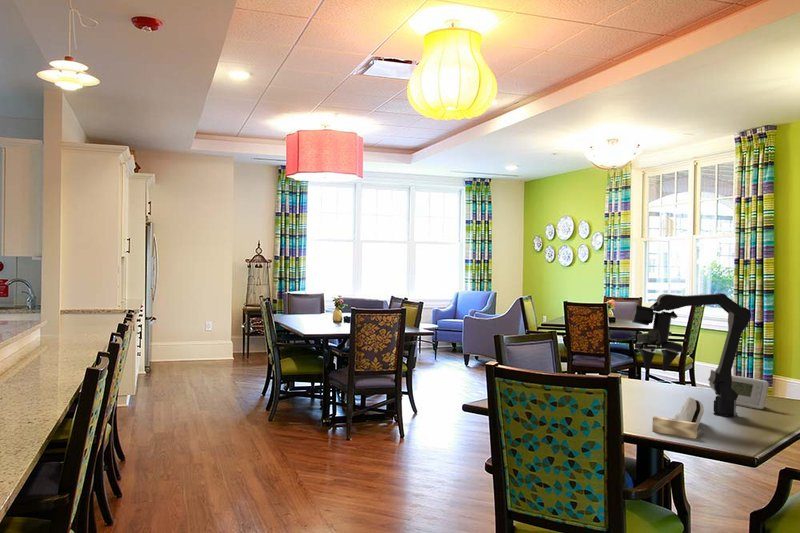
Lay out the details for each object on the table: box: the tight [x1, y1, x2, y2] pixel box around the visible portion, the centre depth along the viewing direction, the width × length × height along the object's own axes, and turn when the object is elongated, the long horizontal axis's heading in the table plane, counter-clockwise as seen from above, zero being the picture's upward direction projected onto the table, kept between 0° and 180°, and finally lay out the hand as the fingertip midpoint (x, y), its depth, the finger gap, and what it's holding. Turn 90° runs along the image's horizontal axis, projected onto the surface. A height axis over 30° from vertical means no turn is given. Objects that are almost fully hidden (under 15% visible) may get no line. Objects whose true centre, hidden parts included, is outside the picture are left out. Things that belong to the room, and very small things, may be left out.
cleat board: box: [651, 415, 703, 440], centre depth 213 cm, size 13×8×4 cm, turn 51°
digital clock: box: [731, 374, 770, 410], centre depth 254 cm, size 16×9×11 cm, turn 23°
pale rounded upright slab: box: [673, 396, 705, 429], centre depth 223 cm, size 17×5×10 cm, turn 164°
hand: (655, 370), depth 239 cm, fingers open, 9 cm apart
